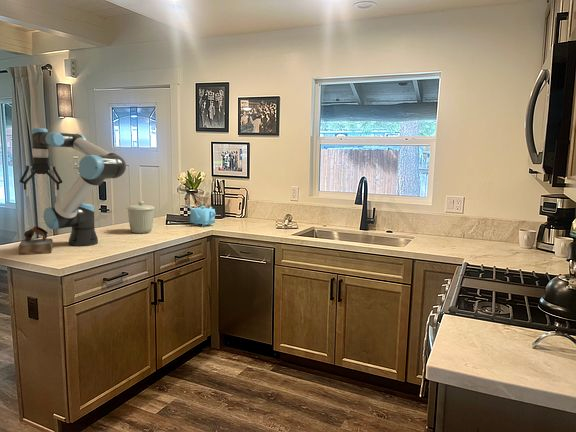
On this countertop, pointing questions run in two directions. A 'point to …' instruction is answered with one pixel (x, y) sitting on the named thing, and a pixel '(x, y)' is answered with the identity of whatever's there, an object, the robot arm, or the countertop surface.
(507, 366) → the countertop surface
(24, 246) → the walnut plinth
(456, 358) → the countertop surface
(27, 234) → the brown headphones
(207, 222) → the teakettle
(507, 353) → the countertop surface
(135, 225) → the canister
